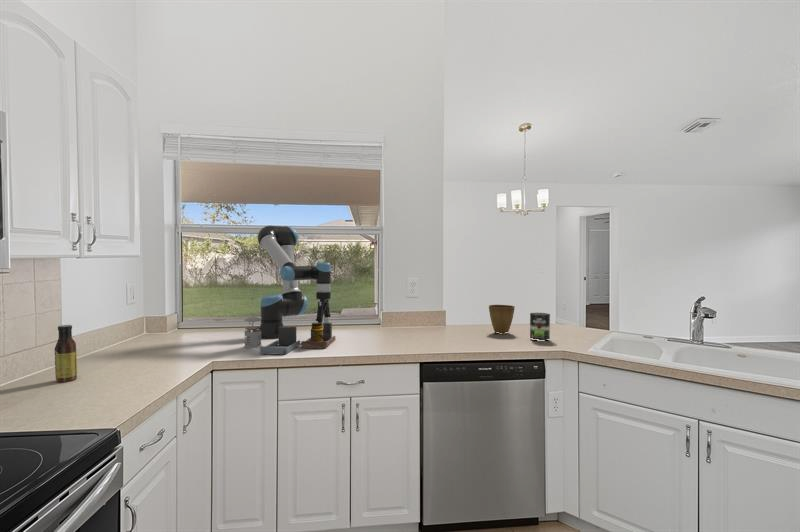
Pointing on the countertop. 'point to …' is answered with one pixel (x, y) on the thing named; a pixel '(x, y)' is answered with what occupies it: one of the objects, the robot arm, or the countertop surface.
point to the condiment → (316, 332)
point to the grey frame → (282, 342)
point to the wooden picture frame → (326, 338)
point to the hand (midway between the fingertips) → (323, 331)
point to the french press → (252, 333)
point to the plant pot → (501, 317)
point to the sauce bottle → (65, 355)
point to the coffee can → (540, 326)
